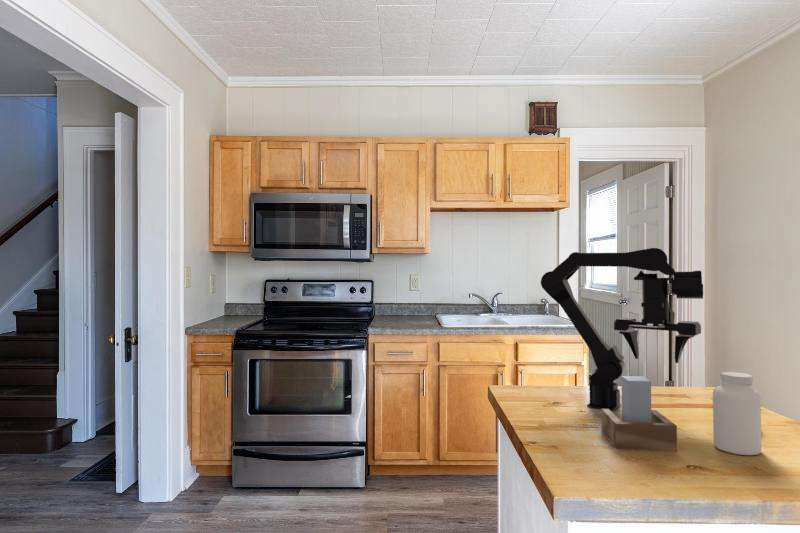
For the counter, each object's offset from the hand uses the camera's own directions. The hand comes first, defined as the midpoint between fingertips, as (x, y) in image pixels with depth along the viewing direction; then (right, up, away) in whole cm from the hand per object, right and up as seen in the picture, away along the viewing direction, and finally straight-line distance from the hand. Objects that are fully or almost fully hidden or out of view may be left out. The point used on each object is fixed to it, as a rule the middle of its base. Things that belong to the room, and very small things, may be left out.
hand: (656, 360), depth 123 cm
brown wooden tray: (-14, -13, -19) cm, 27 cm away
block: (-14, -13, -19) cm, 27 cm away
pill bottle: (+3, -13, -24) cm, 28 cm away
